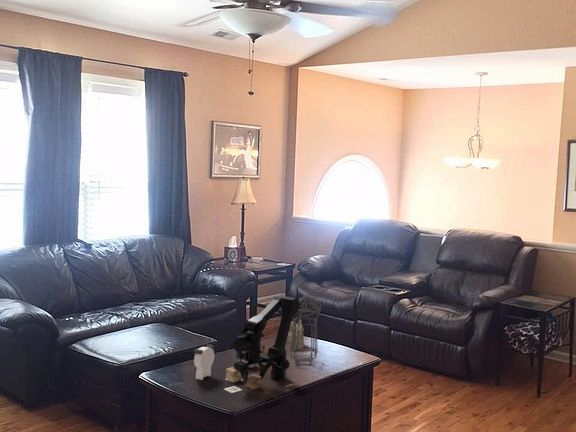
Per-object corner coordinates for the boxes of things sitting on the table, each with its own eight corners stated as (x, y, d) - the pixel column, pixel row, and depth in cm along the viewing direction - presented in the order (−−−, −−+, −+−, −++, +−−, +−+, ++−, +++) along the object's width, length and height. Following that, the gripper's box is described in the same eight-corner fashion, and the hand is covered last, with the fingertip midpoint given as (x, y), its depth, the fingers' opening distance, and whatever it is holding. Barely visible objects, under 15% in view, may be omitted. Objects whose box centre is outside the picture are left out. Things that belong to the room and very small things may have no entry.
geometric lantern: (319, 358, 323) (322, 293, 319) (317, 369, 307) (320, 300, 304) (289, 356, 324) (292, 291, 321) (286, 366, 308) (289, 298, 305)
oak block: (234, 376, 288) (235, 366, 288) (241, 379, 284) (241, 369, 284) (226, 379, 285) (226, 368, 284) (232, 381, 281) (232, 371, 281)
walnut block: (253, 384, 279) (254, 373, 279) (261, 387, 275) (261, 376, 275) (245, 386, 276) (245, 376, 275) (252, 390, 272) (252, 379, 272)
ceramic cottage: (290, 339, 357) (291, 314, 355) (310, 347, 345) (310, 321, 343) (270, 345, 347) (270, 320, 345) (289, 353, 335) (289, 327, 332)
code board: (238, 377, 290) (238, 375, 290) (265, 389, 275) (265, 387, 275) (206, 385, 278) (206, 383, 278) (233, 398, 263) (233, 396, 263)
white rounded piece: (201, 373, 294) (202, 342, 293) (221, 377, 289) (222, 346, 288) (186, 380, 284) (186, 348, 283) (206, 384, 279) (207, 352, 278)
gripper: (258, 340, 286) (257, 373, 288) (226, 347, 274) (225, 381, 275) (274, 345, 278) (273, 379, 279) (241, 353, 266) (240, 388, 267)
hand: (253, 382), depth 275 cm, fingers open, 9 cm apart
